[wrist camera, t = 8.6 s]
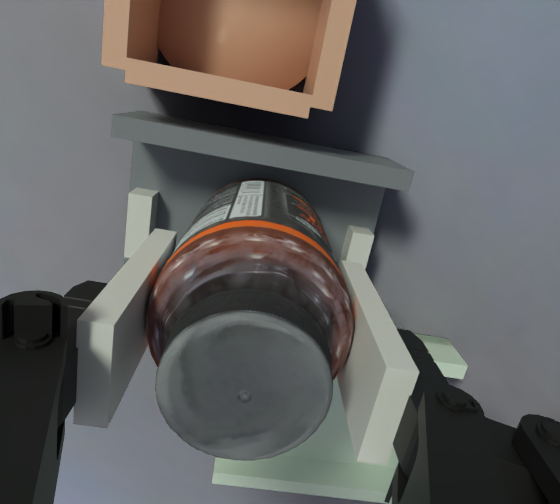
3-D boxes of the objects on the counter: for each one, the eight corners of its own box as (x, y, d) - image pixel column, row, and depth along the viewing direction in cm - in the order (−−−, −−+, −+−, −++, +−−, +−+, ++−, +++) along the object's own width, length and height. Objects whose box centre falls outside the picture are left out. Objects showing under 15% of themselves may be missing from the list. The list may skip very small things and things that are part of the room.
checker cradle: (387, 158, 21) (414, 172, 17) (340, 332, 24) (354, 376, 20) (141, 110, 20) (112, 114, 16) (126, 299, 23) (99, 339, 19)
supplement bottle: (344, 260, 21) (423, 437, 10) (237, 315, 22) (205, 532, 11) (283, 148, 19) (300, 220, 8) (168, 214, 20) (50, 356, 9)
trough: (447, 338, 24) (467, 366, 22) (399, 469, 27) (413, 506, 25) (241, 306, 23) (238, 331, 21) (216, 447, 26) (211, 483, 24)
